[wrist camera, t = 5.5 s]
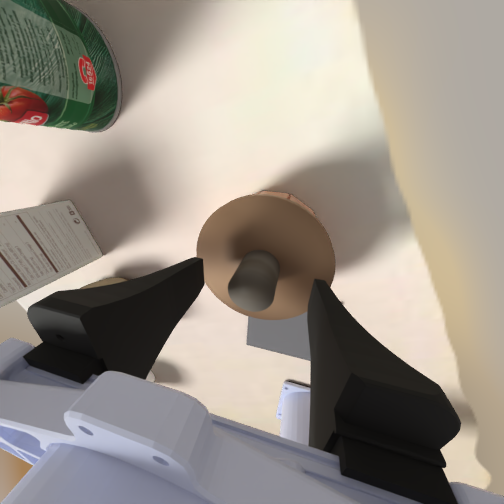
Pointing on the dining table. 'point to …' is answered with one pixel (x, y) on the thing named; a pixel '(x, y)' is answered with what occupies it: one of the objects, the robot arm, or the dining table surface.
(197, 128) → the dining table surface
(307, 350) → the charcoal mat
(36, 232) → the supplement box
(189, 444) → the robot arm
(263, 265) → the walnut lid
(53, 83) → the canned tomato
